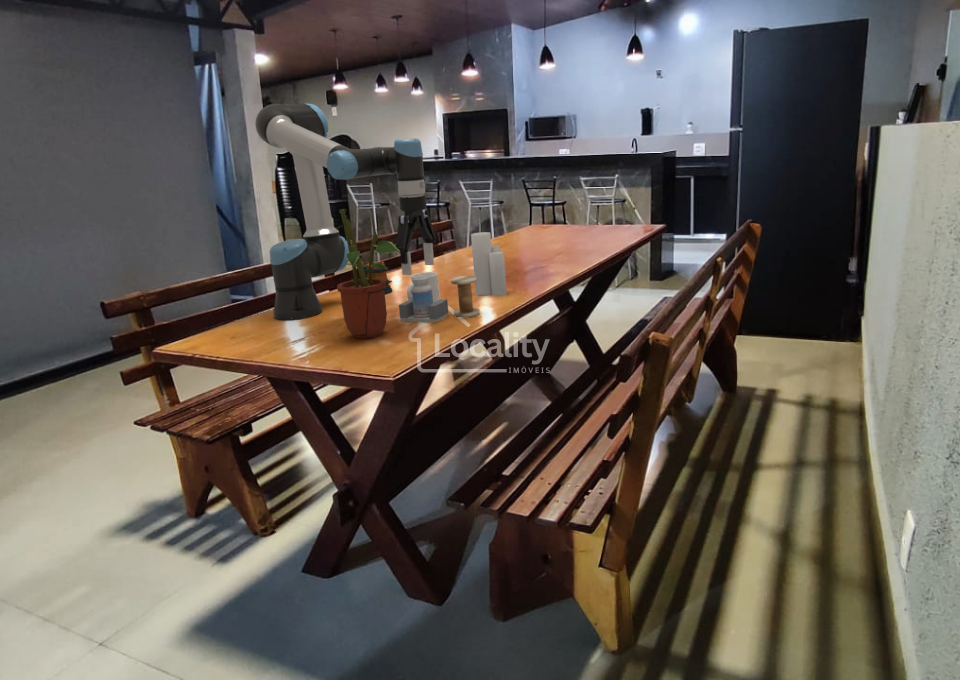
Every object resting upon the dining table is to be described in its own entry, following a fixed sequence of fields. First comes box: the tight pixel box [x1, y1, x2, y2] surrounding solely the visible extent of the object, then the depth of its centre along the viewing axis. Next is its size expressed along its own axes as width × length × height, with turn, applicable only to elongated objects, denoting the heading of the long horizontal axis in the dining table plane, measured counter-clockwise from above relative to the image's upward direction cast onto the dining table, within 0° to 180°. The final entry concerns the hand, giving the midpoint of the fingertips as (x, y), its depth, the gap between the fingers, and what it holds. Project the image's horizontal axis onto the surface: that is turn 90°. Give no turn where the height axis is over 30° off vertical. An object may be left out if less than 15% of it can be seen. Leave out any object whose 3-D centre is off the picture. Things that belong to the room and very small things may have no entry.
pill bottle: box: [411, 277, 433, 317], centre depth 198 cm, size 6×6×11 cm
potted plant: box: [336, 208, 400, 340], centre depth 183 cm, size 17×16×35 cm
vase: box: [470, 231, 508, 297], centre depth 222 cm, size 11×7×20 cm, turn 66°
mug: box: [406, 271, 441, 303], centre depth 211 cm, size 12×8×10 cm
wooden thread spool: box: [450, 275, 480, 318], centre depth 199 cm, size 8×8×11 cm
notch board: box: [398, 298, 450, 323], centre depth 199 cm, size 12×8×5 cm, turn 66°
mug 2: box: [361, 260, 393, 296], centre depth 239 cm, size 13×10×12 cm
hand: (418, 269), depth 196 cm, fingers open, 13 cm apart
